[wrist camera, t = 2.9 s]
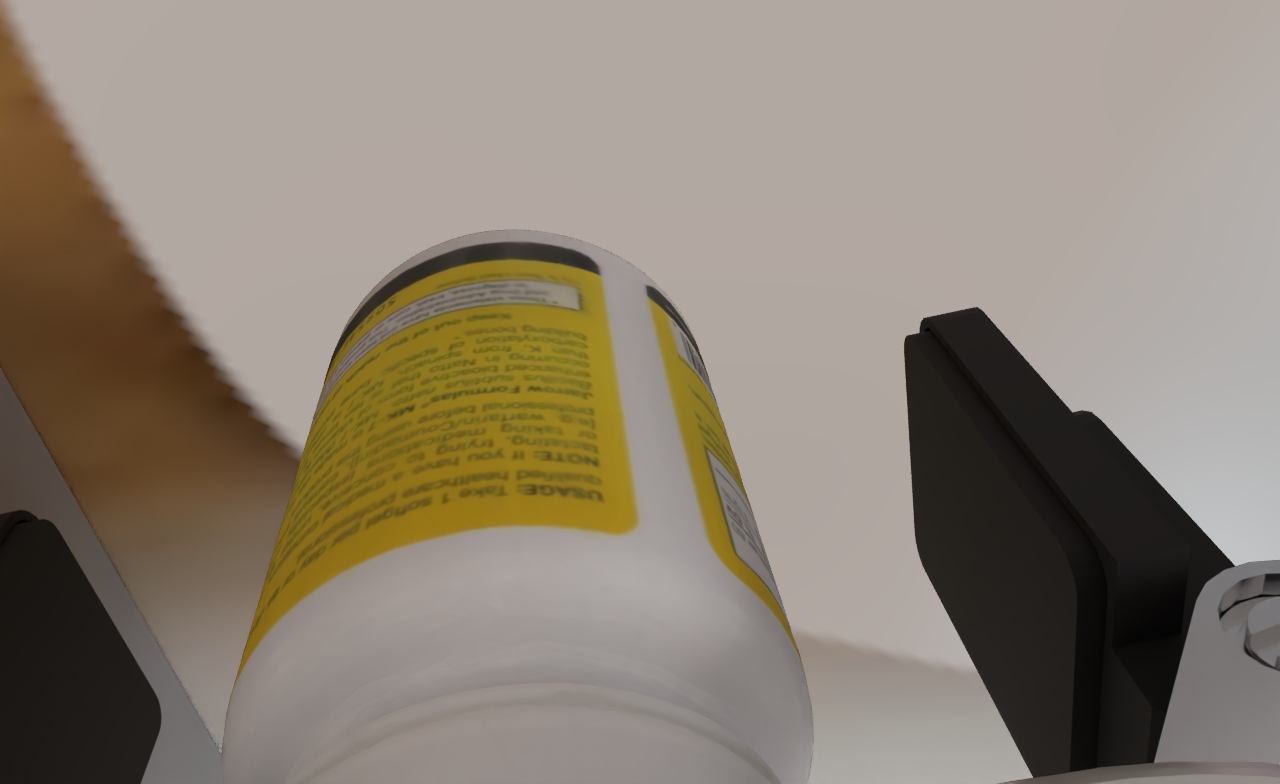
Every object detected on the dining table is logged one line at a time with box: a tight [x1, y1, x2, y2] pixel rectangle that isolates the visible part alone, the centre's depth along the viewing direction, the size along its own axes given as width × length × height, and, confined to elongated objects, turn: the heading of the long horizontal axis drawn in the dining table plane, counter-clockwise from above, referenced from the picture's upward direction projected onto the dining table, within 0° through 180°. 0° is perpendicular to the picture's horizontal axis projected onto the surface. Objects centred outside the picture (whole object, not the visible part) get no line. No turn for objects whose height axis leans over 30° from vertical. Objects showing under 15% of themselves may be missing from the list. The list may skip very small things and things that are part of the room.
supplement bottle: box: [222, 230, 813, 784], centre depth 10 cm, size 5×5×8 cm
